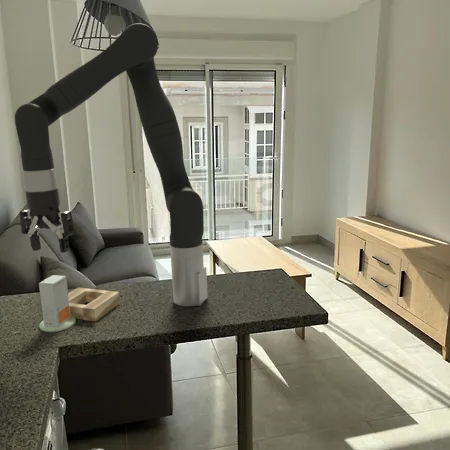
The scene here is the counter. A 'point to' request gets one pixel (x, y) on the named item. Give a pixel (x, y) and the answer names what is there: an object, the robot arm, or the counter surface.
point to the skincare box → (54, 300)
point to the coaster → (63, 326)
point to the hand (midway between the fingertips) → (50, 250)
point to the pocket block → (92, 303)
